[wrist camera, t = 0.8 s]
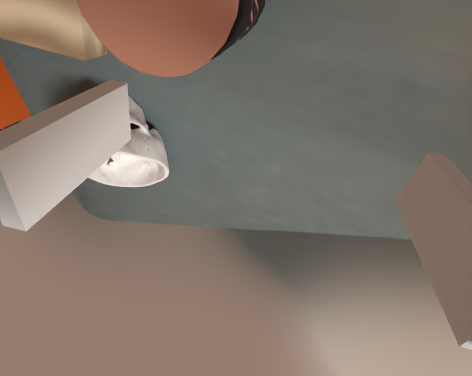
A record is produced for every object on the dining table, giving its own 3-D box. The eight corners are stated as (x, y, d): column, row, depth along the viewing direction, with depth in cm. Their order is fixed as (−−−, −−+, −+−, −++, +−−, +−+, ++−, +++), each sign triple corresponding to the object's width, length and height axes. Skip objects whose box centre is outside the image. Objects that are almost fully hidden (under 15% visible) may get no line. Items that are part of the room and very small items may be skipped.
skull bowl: (116, 61, 36) (105, 137, 31) (183, 120, 47) (184, 184, 42) (64, 94, 40) (46, 167, 35) (137, 142, 51) (132, 203, 46)
